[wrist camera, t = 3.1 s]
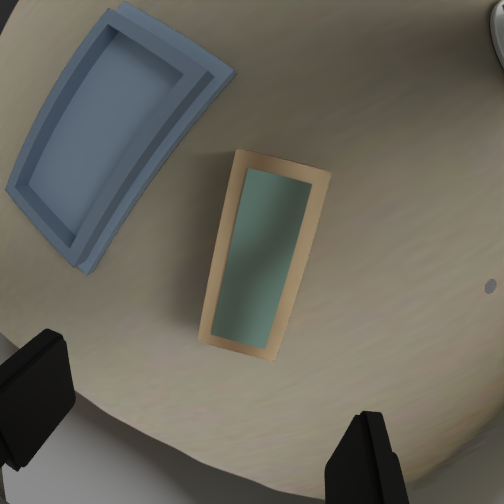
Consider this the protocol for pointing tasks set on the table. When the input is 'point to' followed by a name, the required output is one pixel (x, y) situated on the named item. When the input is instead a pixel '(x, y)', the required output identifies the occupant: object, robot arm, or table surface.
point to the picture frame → (261, 252)
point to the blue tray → (110, 129)
